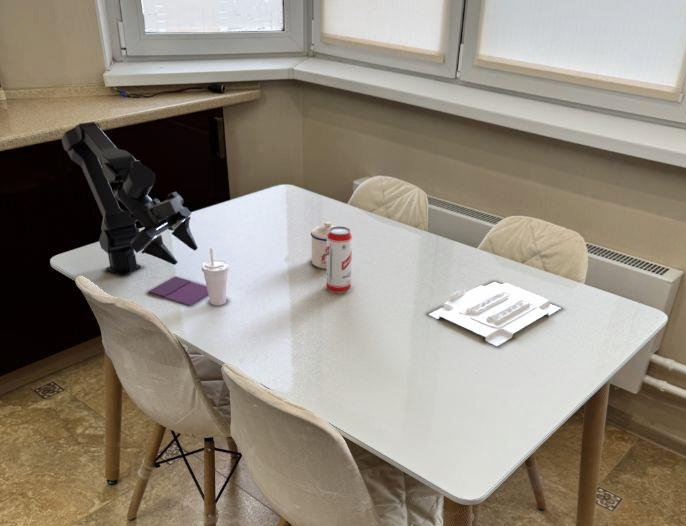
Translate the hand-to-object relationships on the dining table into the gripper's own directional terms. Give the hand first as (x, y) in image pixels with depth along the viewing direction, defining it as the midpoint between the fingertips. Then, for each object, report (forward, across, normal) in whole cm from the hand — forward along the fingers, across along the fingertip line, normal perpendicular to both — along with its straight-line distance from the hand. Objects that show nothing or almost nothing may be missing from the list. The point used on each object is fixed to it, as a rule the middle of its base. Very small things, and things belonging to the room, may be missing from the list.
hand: (186, 256), depth 165 cm
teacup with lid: (+25, +34, -10) cm, 43 cm away
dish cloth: (+5, +2, +10) cm, 11 cm away
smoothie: (+13, 0, +2) cm, 13 cm away
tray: (+59, +22, -43) cm, 76 cm away
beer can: (+30, +18, -15) cm, 39 cm away
